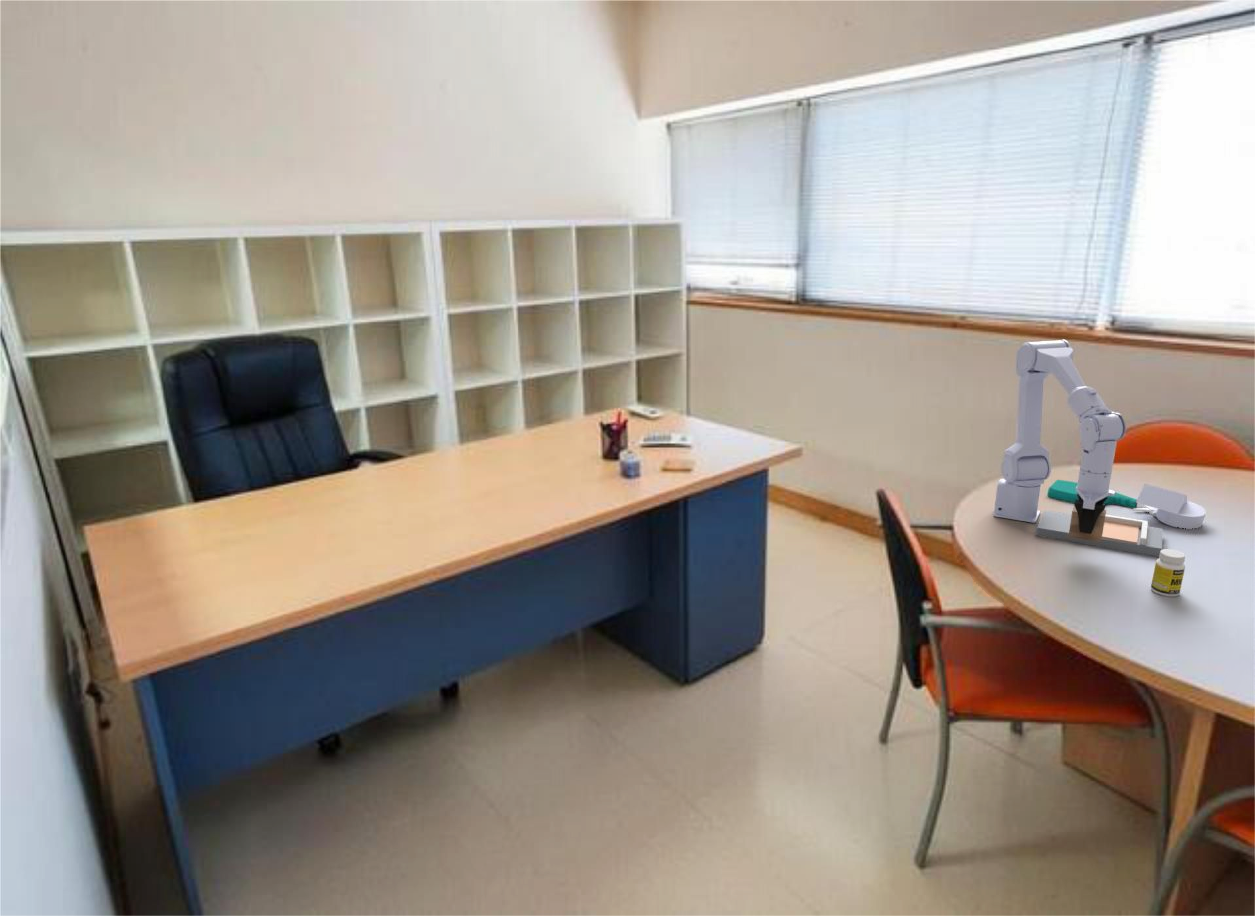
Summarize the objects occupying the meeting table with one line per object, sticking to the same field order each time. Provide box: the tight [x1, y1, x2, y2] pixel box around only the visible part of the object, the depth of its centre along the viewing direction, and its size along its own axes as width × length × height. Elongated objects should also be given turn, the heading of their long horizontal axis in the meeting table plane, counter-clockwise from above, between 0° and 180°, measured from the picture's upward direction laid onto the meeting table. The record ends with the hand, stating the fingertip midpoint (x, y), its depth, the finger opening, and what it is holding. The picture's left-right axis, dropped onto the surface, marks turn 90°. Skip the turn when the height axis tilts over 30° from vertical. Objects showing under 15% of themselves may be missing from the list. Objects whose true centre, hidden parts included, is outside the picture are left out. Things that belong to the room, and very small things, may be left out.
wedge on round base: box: [1136, 483, 1207, 530], centre depth 178 cm, size 9×7×13 cm
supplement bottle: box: [1150, 548, 1186, 598], centre depth 147 cm, size 5×5×8 cm
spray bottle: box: [1046, 479, 1158, 517], centre depth 192 cm, size 3×11×25 cm
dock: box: [1035, 509, 1164, 557], centre depth 172 cm, size 24×12×4 cm, turn 55°
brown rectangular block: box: [1068, 504, 1107, 542], centre depth 161 cm, size 6×4×6 cm, turn 55°
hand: (1086, 528), depth 161 cm, fingers closed on brown rectangular block, 4 cm apart
